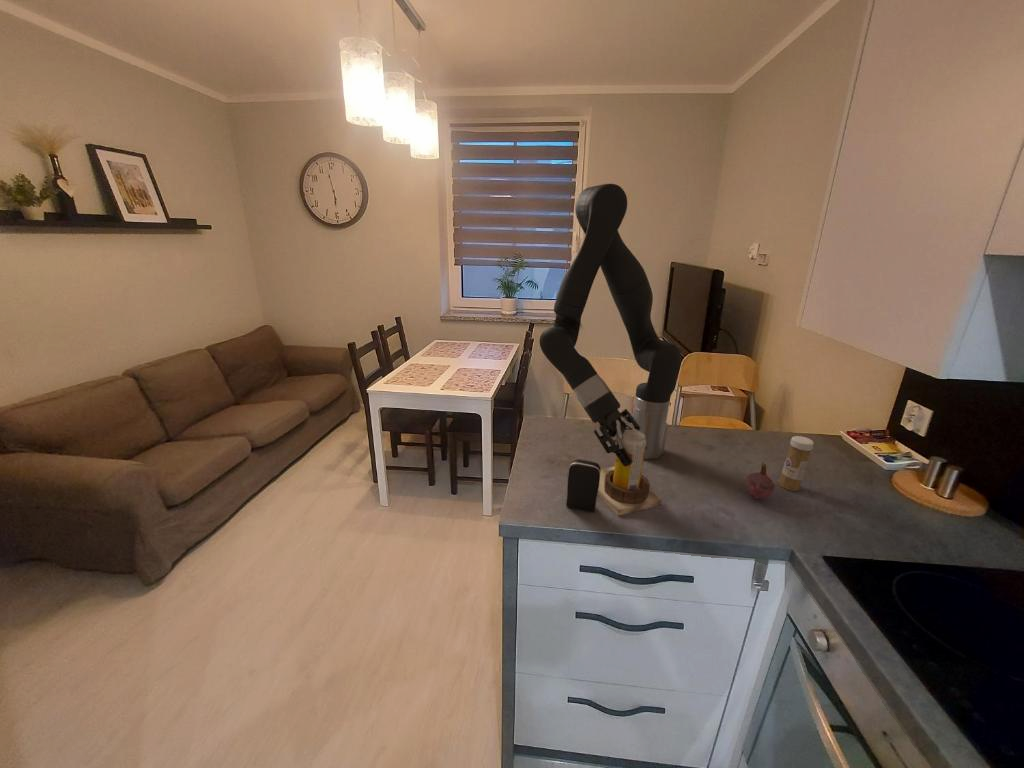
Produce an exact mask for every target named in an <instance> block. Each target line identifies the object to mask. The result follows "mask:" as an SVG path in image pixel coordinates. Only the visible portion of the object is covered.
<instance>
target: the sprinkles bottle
mask: <svg viewBox="0 0 1024 768" xmlns="http://www.w3.org/2000/svg"><path fill="white" fill-rule="evenodd" d="M814 443H815V442H814V441H813V440H812V439H810V438H808V437H805V436H800V435H793V436H792V437H791V439H790V442H789V445H790V446H789V449H788V452H787V456H786V459H785V461H784V464H783V466H782V467H783V468H782V472H781V475H780V479H779V480H778V484H779V486H780V487H781V488H783V489H785V490H787V491H793V492H797V491H799V490H800V488H801V487H800V486H801V482H802V480H803V478H804V474H805V471H806V468H807V465H808V462H809V457H810V455H811V452H812V450H813V448H814Z"/></svg>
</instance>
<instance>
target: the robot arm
mask: <svg viewBox="0 0 1024 768" xmlns="http://www.w3.org/2000/svg"><path fill="white" fill-rule="evenodd" d="M574 207H575V210H574V211H575V216H576V220H577V221H578V222H577V223H578V224H579V226H580V227H581V230H582V231H583V233H584V235H585V236H584V239H583V241H582V245H581V246H580V248H579V251H578V253H577V254H576V256H575V258H574V259H573V260H572V262H571V264H570V266H569V267H568V269H567V270H566V272H565V274H564V276H563V279H562V280H561V284H560V286H559V288H558V293H557V296H556V299H555V302H554V304H553V305H554V306H553V311H554V314H555V319H554V324H553V326H552V327H548V328H546V329H544V330H543V331H542V332H541V334H540V336H539V342H538V343H539V347H540V349H541V352H542V353H543V355H544V356H545V358H546V359H547V360H548V361H549V362H550V364H552V365H553V367H554V368H555V369H557V371H559V372H560V373H561V375H562V376H563V377H564V380H565V381H566V382H567V384H568V385H569V386H570V389H571V390H572V392H573V393H574V394H575V397H576V400H577V401H578V402H579V403H580V405H581V407H582V408H583V410H584V411H585V413H586V414H587V416H588V417H589V418H590V421H592V423H593V424H596V423H598V425H599V426H598V427H596V428H595V429H593V432H594V434H595V437H597V440H598V441H599V443H600V444H601V446H602V448H603V449H604V451H605V452H606V453H607V454H615V457H616V456H617V457H618V459H619V460H620V461H621V463H622V464H623V465H624V466H628V465H630V464H631V463H632V462H633V461H632V459H631V458H630V456H629V455H628V453H627V452H626V450H625V449H624V448H623V446H622V442H621V439H622V434H623V433H624V432H625V430H635V431H638V432H641V433H643V434H644V435H645V439H646V447H645V453H644V459H643V460H656V459H658V458H660V457H661V456H662V455H664V452H665V447H666V442H667V435H668V430H669V424H668V422H667V419H668V413H669V407H670V401H671V396H672V394H673V393H674V391H675V389H676V388H677V387H676V386H677V383H678V378H679V374H680V370H681V365H682V353H681V349H680V348H679V347H678V346H677V345H676V344H673V343H672V342H668V341H666V340H663V339H660V337H659V336H658V334H657V332H656V330H655V327H654V325H653V323H652V318H651V314H652V308H653V300H654V299H653V298H654V297H653V296H654V295H653V291H652V288H651V284H650V282H649V279H648V276H647V273H646V271H645V269H644V267H643V265H642V264H641V262H639V260H638V259H637V257H636V256H635V255H634V254H633V253H632V251H631V250H630V249H629V248H628V246H627V245H626V243H625V242H624V240H623V239H622V237H621V234H620V232H619V228H620V226H621V225H622V223H623V220H624V218H625V216H626V213H627V211H628V197H627V193H626V192H625V190H624V189H623V188H622V187H621V186H620V185H618V184H615V183H603V184H599V185H594V186H590V187H589V186H588V187H586V188H585V189H583V190H582V191H581V192H579V194H578V196H577V198H576V201H575V206H574ZM599 269H601V272H602V274H603V276H604V278H605V281H606V285H607V286H608V289H609V292H610V295H611V297H612V299H613V302H614V304H615V306H616V309H617V310H618V313H619V315H620V318H621V320H622V323H623V324H624V327H625V330H626V332H627V334H628V338H629V341H630V346H631V349H632V353H633V356H634V360H635V362H636V363H637V365H638V366H639V367H640V368H641V369H642V370H644V371H646V372H648V378H647V381H646V382H642V383H639V384H638V385H637V386H636V389H635V395H634V402H633V410H632V414H631V413H630V411H629V410H628V409H627V408H625V409H623V410H621V411H619V409H620V408H621V403H620V402H619V401H618V399H617V398H616V396H615V394H614V393H613V392H612V390H611V389H610V387H609V386H608V384H607V383H606V382H605V380H604V379H603V378H602V377H601V376H600V375H599V374H598V372H597V370H595V368H594V366H593V365H592V364H591V362H590V361H589V360H588V358H586V357H585V356H582V354H580V353H579V352H578V350H577V349H576V348H575V346H576V345H577V342H578V337H579V333H580V328H581V323H582V322H581V320H582V316H583V313H584V310H585V308H586V305H587V302H588V298H589V296H590V294H591V293H590V292H591V289H592V288H593V287H592V286H593V284H594V282H595V279H596V277H597V274H598V273H599ZM621 433H622V434H621ZM608 444H609V445H608Z"/></svg>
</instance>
